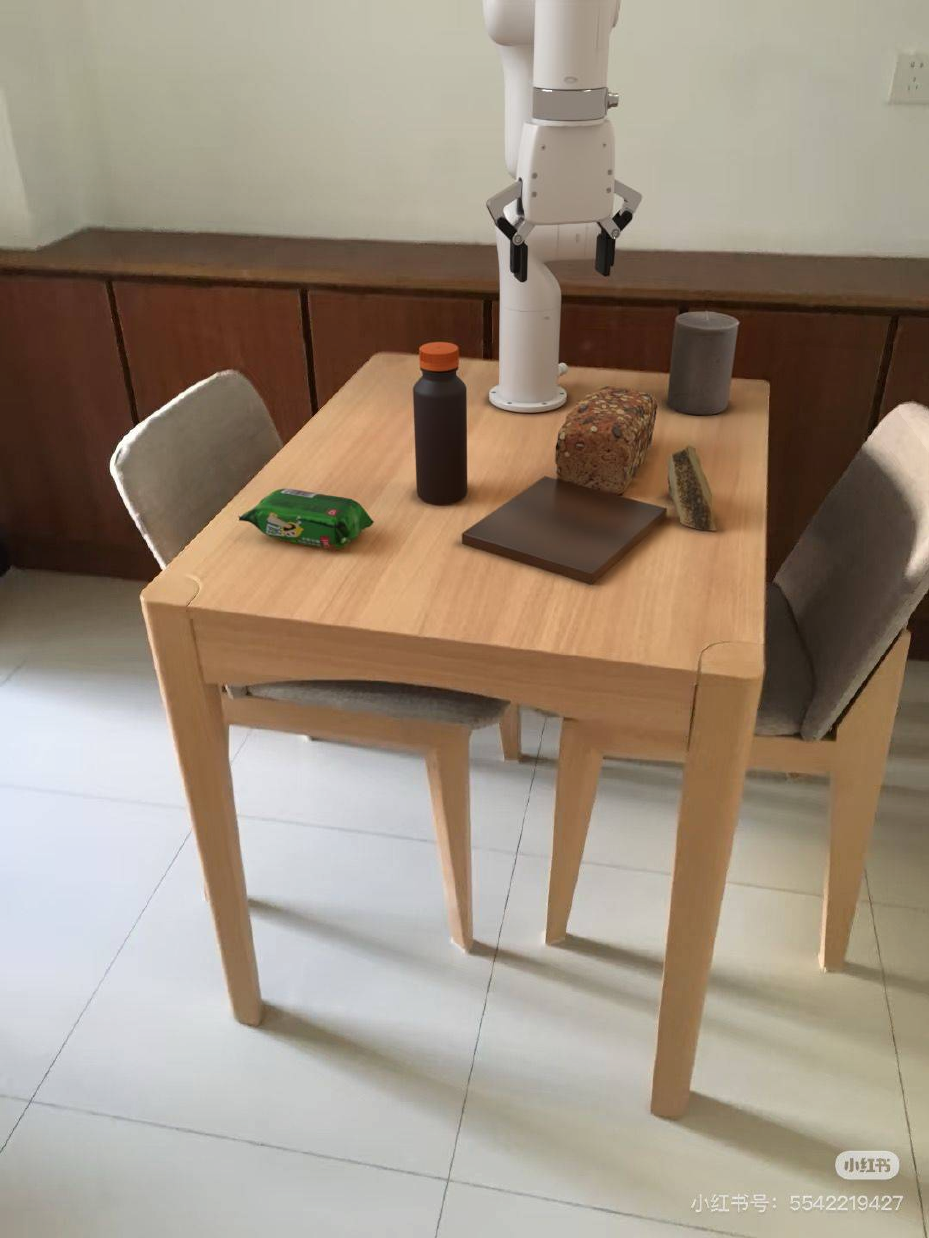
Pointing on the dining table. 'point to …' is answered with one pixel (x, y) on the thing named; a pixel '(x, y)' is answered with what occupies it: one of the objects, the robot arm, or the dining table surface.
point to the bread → (606, 439)
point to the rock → (690, 490)
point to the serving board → (565, 528)
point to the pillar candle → (702, 362)
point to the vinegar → (440, 426)
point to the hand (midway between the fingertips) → (561, 276)
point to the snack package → (309, 518)
